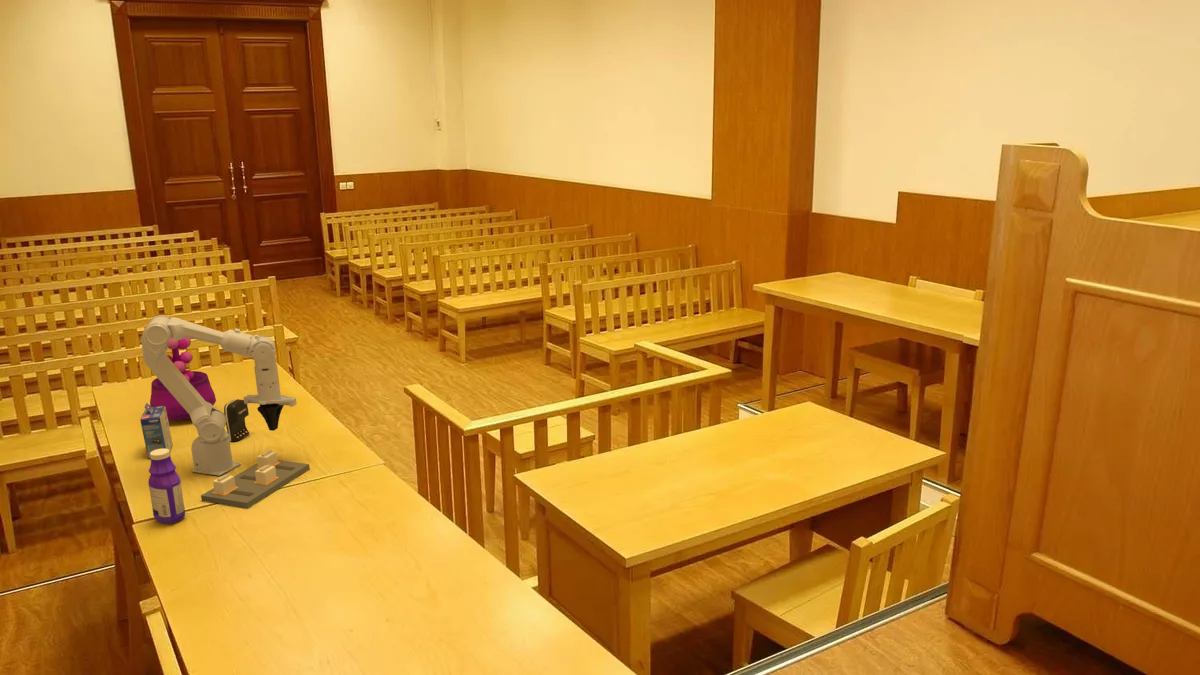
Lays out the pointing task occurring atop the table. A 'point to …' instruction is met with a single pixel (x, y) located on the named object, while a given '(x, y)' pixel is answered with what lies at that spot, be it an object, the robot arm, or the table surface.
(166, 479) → the bottle
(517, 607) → the table surface
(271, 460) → the switch
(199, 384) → the decorative plant
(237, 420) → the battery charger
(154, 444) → the ink cartridge box
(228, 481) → the switch
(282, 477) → the switch board
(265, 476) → the switch
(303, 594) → the table surface
